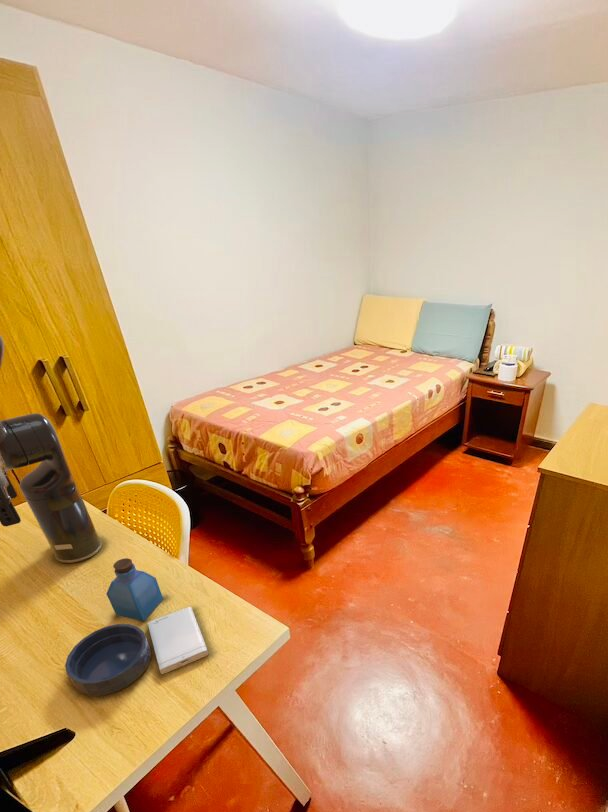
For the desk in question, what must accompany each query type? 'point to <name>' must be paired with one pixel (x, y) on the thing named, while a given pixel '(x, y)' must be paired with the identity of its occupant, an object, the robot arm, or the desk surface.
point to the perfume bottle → (133, 591)
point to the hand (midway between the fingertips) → (11, 510)
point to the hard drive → (177, 640)
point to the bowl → (108, 659)
